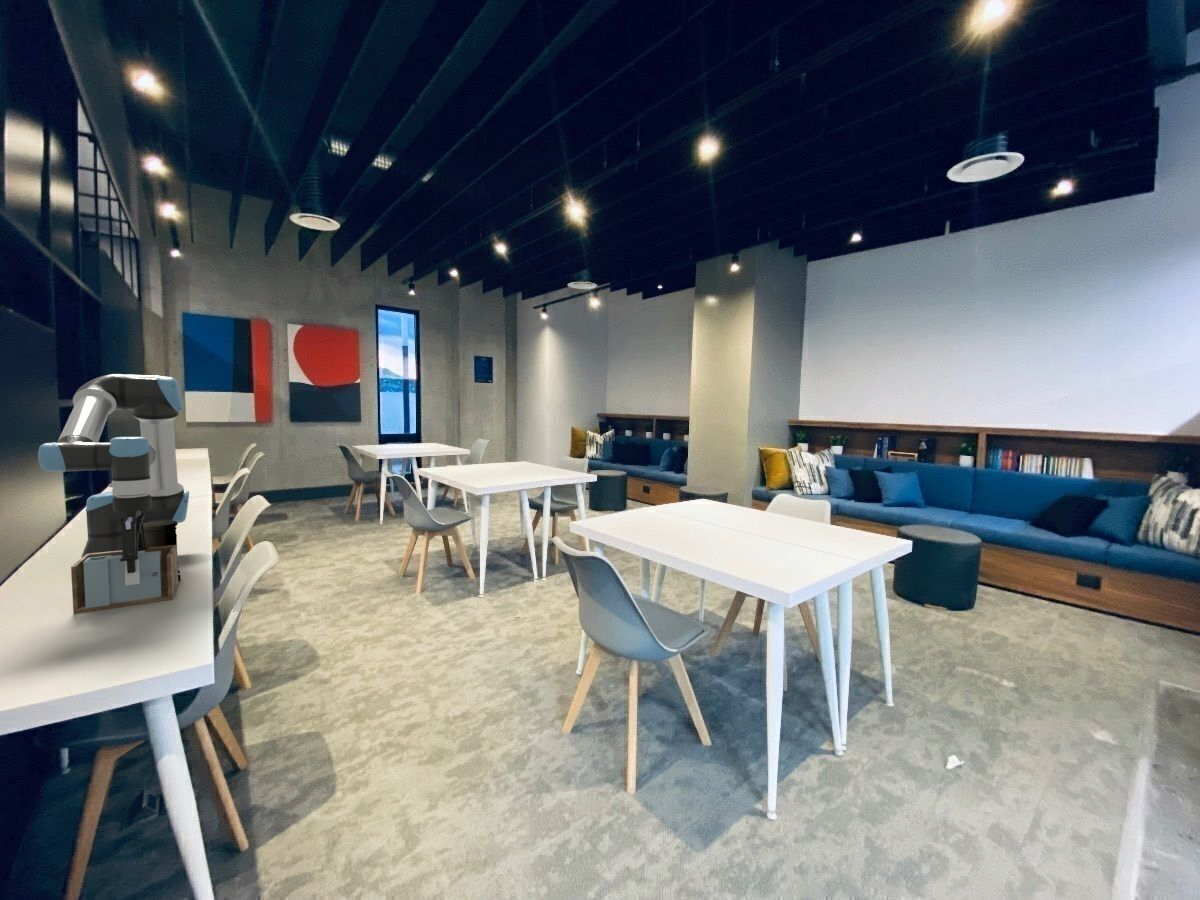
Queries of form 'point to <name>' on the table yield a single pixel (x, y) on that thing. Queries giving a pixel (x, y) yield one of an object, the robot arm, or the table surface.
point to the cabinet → (168, 588)
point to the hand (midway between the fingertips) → (135, 579)
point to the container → (161, 534)
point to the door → (121, 579)
